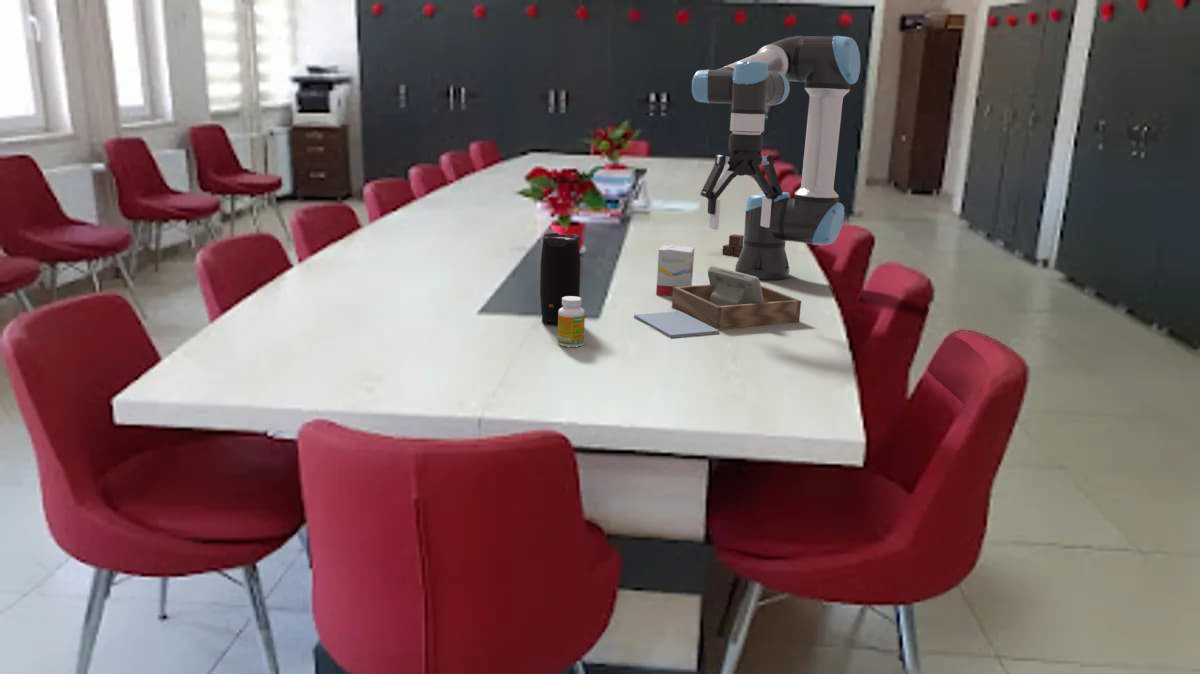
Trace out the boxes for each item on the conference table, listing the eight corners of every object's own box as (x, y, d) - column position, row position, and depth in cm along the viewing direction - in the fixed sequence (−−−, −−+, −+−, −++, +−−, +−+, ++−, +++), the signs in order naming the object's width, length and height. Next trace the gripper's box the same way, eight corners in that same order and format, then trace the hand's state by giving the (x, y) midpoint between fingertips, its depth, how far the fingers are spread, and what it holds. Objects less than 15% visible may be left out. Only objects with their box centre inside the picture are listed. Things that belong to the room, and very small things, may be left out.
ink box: (688, 297, 235) (691, 251, 232) (655, 295, 237) (657, 249, 233) (692, 290, 243) (695, 245, 240) (660, 287, 245) (662, 243, 242)
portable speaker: (558, 329, 202) (560, 240, 197) (531, 320, 208) (531, 234, 203) (587, 323, 208) (589, 236, 202) (560, 314, 214) (561, 230, 209)
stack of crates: (767, 256, 297) (769, 234, 295) (748, 263, 285) (750, 240, 283) (724, 250, 305) (726, 229, 303) (704, 256, 292) (705, 235, 290)
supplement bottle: (574, 349, 188) (575, 302, 185) (552, 344, 191) (553, 298, 188) (588, 343, 192) (590, 297, 190) (567, 339, 195) (568, 293, 192)
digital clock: (769, 321, 214) (773, 276, 211) (736, 325, 211) (739, 279, 208) (730, 305, 228) (733, 262, 225) (698, 308, 225) (701, 265, 222)
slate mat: (680, 313, 219) (680, 311, 219) (719, 333, 203) (719, 330, 203) (633, 317, 214) (634, 314, 214) (670, 337, 198) (670, 335, 198)
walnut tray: (750, 301, 233) (751, 281, 232) (799, 321, 215) (801, 300, 213) (672, 307, 225) (673, 287, 223) (716, 329, 206) (717, 307, 205)
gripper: (783, 132, 216) (776, 223, 222) (689, 131, 207) (683, 226, 212) (802, 134, 210) (794, 228, 216) (706, 133, 200) (700, 232, 206)
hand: (739, 227), depth 214 cm, fingers open, 13 cm apart
